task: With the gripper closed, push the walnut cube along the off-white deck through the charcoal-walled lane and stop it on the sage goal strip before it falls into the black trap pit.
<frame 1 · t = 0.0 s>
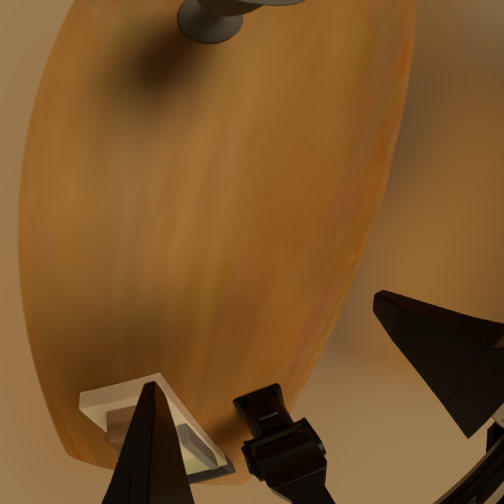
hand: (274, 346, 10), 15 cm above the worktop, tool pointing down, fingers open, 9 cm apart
sundae: (210, 16, 15), on the worktop
walnut block: (134, 418, 27), point 2 cm above the worktop, touching deck
trap pit: (201, 465, 42), on the worktop
deck: (162, 431, 33), on the worktop
lane walls: (165, 434, 34), resting on deck
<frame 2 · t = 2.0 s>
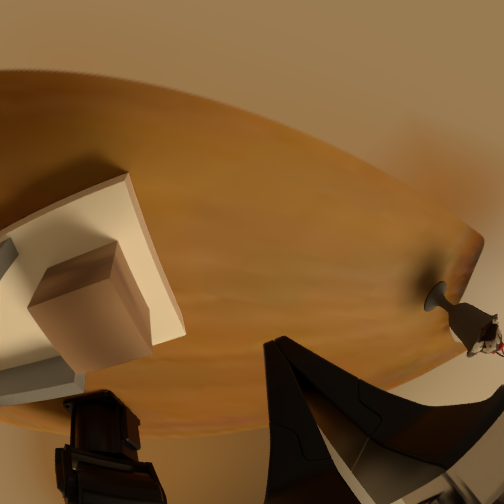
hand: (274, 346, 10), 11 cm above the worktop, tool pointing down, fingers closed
sundae: (434, 295, 34), on the worktop
walnut block: (97, 290, 15), point 2 cm above the worktop, touching deck
deck: (12, 304, 16), on the worktop
lane walls: (4, 307, 15), resting on deck
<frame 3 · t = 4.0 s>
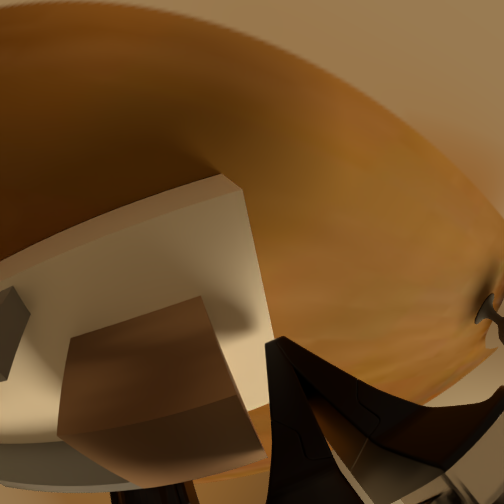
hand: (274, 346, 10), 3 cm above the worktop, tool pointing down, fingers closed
sundae: (483, 307, 29), on the worktop
walnut block: (159, 365, 10), point 2 cm above the worktop, touching deck, gripper
deck: (23, 365, 10), on the worktop
lane walls: (12, 368, 10), resting on deck
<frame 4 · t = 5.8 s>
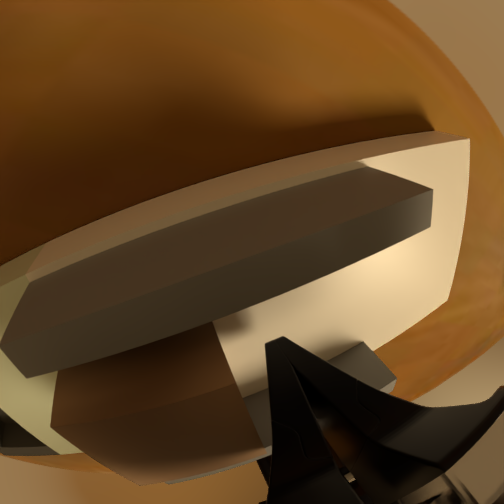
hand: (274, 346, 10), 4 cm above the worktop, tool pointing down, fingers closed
walnut block: (156, 358, 10), point 3 cm above the worktop, touching gripper
deck: (244, 295, 13), on the worktop
lane walls: (224, 302, 13), resting on deck
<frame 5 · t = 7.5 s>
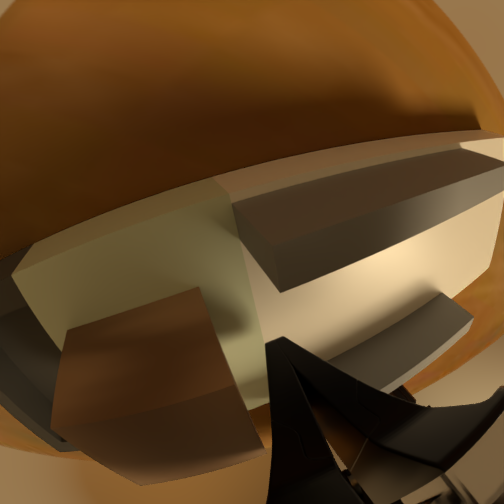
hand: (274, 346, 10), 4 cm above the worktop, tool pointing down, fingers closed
walnut block: (156, 359, 10), point 2 cm above the worktop, touching deck, gripper
trap pit: (44, 358, 11), on the worktop
deck: (366, 246, 14), on the worktop
lane walls: (351, 252, 14), resting on deck
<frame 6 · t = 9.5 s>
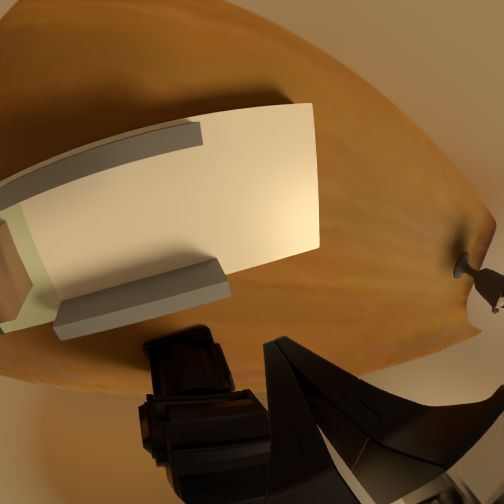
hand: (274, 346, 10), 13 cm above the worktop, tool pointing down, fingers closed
sundae: (460, 264, 38), on the worktop
deck: (131, 211, 19), on the worktop
lane walls: (118, 215, 18), resting on deck
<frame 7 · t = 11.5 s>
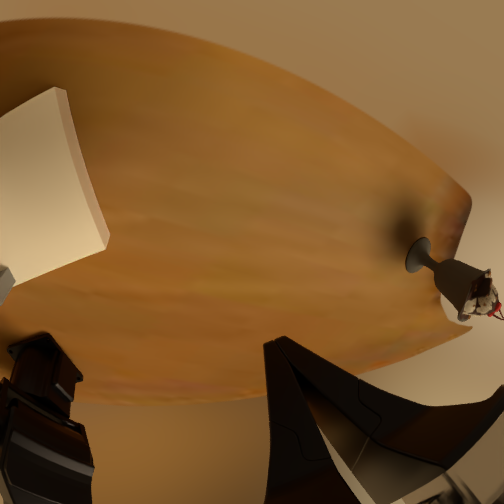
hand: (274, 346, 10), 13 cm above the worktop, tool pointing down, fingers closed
sundae: (417, 254, 32), on the worktop
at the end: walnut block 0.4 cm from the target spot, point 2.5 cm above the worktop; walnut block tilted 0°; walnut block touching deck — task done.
